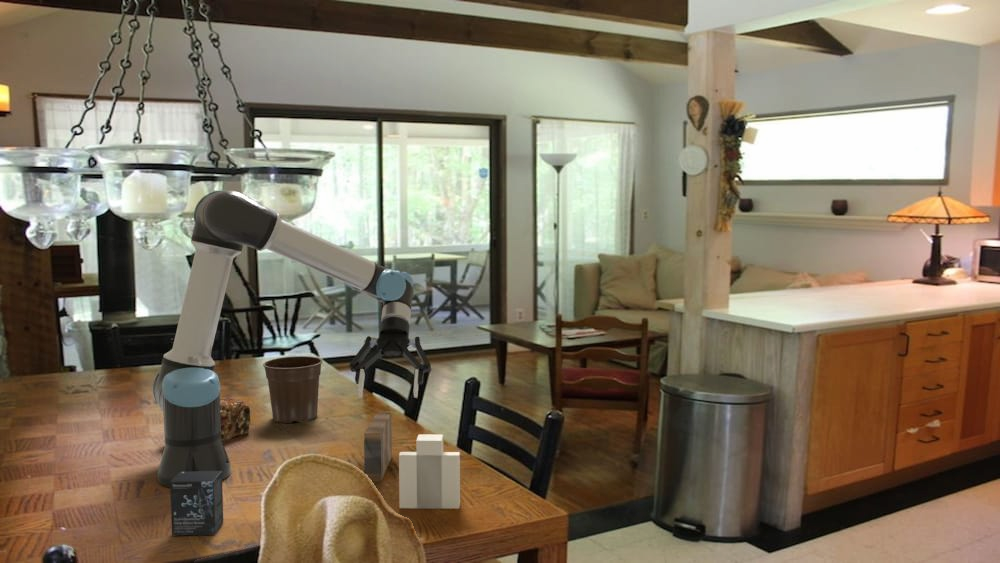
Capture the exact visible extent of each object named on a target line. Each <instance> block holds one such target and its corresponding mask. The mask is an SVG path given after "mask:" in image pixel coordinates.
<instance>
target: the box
mask: <svg viewBox="0 0 1000 563" xmlns="http://www.w3.org/2000/svg"><path fill="white" fill-rule="evenodd" d="M169 488H170V489H169V490H170V509H171V510H170V517H171V518H170V519H171V536H172V537H175V536H176V537H177V536H215V535H216V534H217V533H218V531H219V530H220V528H221V527H222V526H223V524H224V501H223V500H224V498H223V497H224V495H223V493H224V492H223V480H222V471H191V472H185V471H180V472H179V473H178V474H177V475H176V476H175V477H174V478H173V479H172V480H171V482H170V487H169Z"/></svg>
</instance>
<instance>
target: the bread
mask: <svg viewBox="0 0 1000 563" xmlns="http://www.w3.org/2000/svg"><path fill="white" fill-rule="evenodd" d="M220 419H221V440H222V442H223V440H224V441H227V440H230V438H231V439H233V438H235V437H237V435H238V436H242V435H246V434H248V433H249V432H250V428H251V427H250V426H251V410H250V406H249V404H248V403H246V402H245V401H243V400H239V399H237V398H234V397H230V396H229V397H225V398H222V397H220Z"/></svg>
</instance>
